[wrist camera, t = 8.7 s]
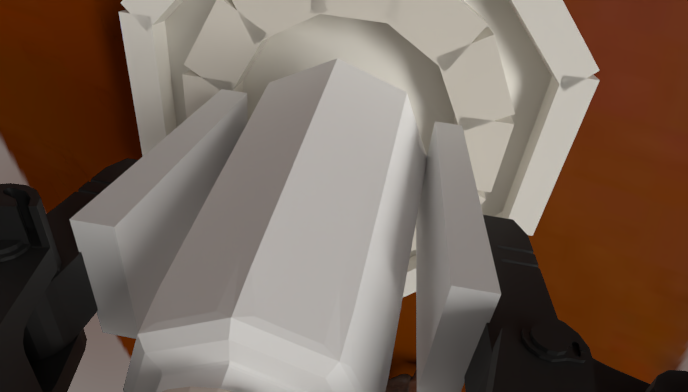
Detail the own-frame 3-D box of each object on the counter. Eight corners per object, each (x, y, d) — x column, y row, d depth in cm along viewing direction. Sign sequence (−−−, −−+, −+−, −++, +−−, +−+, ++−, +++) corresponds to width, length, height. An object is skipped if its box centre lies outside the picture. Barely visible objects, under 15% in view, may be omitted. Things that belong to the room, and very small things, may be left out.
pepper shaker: (256, 212, 15) (-4, 689, 6) (240, 50, 12) (-352, 483, 3) (416, 229, 14) (419, 787, 5) (440, 63, 11) (551, 662, 2)
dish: (128, -162, 12) (82, -175, 10) (644, -102, 11) (684, -106, 10) (179, 233, 20) (157, 262, 18) (489, 287, 19) (497, 323, 17)
